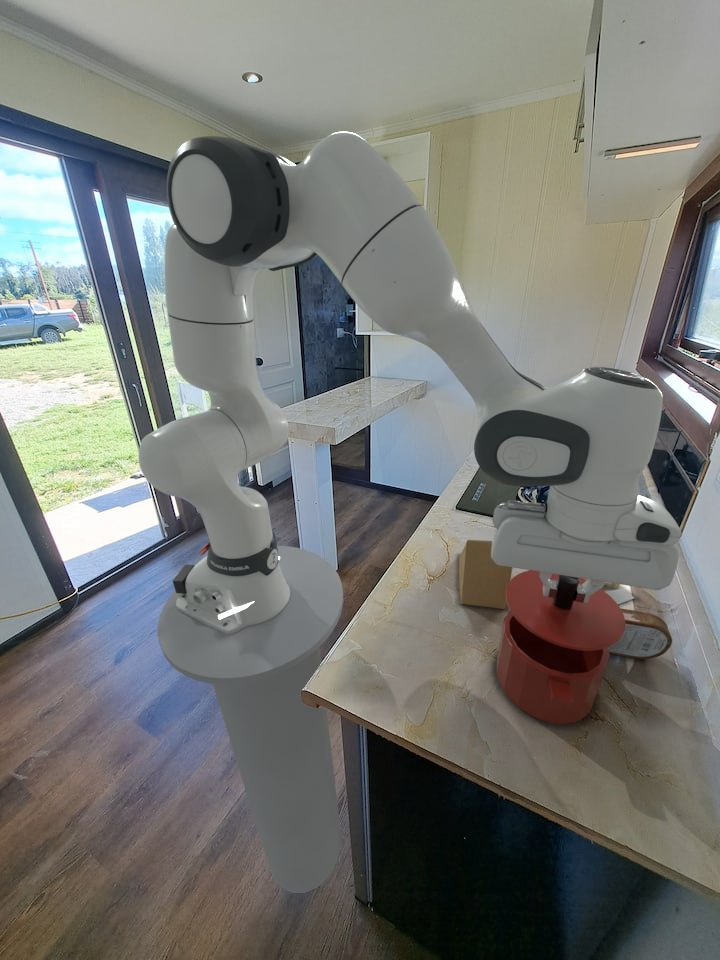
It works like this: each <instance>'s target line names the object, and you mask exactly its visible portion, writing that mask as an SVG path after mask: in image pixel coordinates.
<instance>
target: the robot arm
mask: <svg viewBox="0 0 720 960" xmlns="http://www.w3.org/2000/svg"><path fill="white" fill-rule="evenodd" d="M166 175H167V176H166V199H167V205H168V209H169V213H170V216H171V219H172V222H173V224H172V225H171V226H170V227H169V229H168V231H167V233H166V236H165V245H164V265H163V266H164V267H163V272H164V293H165V304H166V312H167V320H168V328H169V335H170V342H171V349H172V357H173V363H174V367H175V369H176V371H177V373H178V374H179V376H180V377H181V378H182V379H183V380H184V381H185V382H187V383H188V384H189V385H191V386H193V387H195V388H196V389H200V390H202V391H205V392H207V393H208V397H209V400H210V406H209V409H208V410H205V411H201V412H198V413H195V414H191V415H188V416H185V417H182V418H178V419H175V420H171V421H169V422H167V423H165V424H164V425H161V426H160V427H158V428H157V429H155V430H154V431H152V432H150V433H148V434H146V435H145V436H144V437H143V438H142V439H141V442H140V444H139V449H138V464H139V468H140V471H141V473H142V475H143V476H144V478H145V479H146V481H147V482H148V483H149V484H150V485H151V486H152V487H153V488H154V489H156V490H157V491H159V492H161V493H163V494H165V495H167V496H170V497H174V498H175V497H176V498H179V499H182V500H184V501H186V502H188V503H189V504H191V505H192V506H193V507H194V508H195V509H196V510H197V512H198V513H199V516H200V518H201V519H202V521H203V524H204V527H205V531H206V533H207V537H208V541H207V542H206V544H205V545H204V546H203V547H202V548H201V549H200V550H199V552H201V553H200V556H201V557H203V555H204V554H206V553H207V555H205V556H204V557H203V558H201V560H199V561H198V562H197V563H196V564H183V567H182V568H181V569H180V570H179V572H178V573H177V575H176V576H175V577H174V578H173V580H172V584H173V587H174V591H176V593H180V595H179V597H178V599H177V601H176V609H177V610H179V611H180V612H182V613H184V614H186V615H188V616H190V617H192V618H194V619H196V620H198V621H200V622H202V623H204V624H206V625H208V626H210V627H212V628H214V629H216V630H218V631H220V632H222V633H224V634H226V635H230V634H233V633H236V632H238V631H239V630H241V629H243V628H245V627H248V626H252V625H256V624H259V623H262V622H265V621H267V620H269V619H271V618H273V617H274V616H276V615H277V614H278V613H279V612H281V611H282V610H283V609H284V607H285V606H286V605H287V603H288V601H289V598H290V587H289V585H288V584H287V582H286V580H285V578H284V576H283V573H282V571H281V568H280V565H279V562H278V560H280V556H278V548H277V546H278V543H277V538H276V534H275V532H274V531H273V528H272V522H271V516H270V510H269V509H270V508H269V504H268V500H267V499H266V498H265V497H264V495H263V494H262V493H261V492H259V491H258V490H257V489H254V488H252V487H247V486H241V485H240V483H239V479H238V477H239V474H240V473H241V472H242V471H244V470H246V469H249V468H251V467H253V466H255V465H257V464H259V463H262V462H263V461H266V460H267V459H269V458H271V456H273V455H274V454H275V453H277V452H278V451H279V450H281V448H283V447H284V446H285V445H286V443H287V442H288V439H289V435H290V425H289V421H288V418H287V416H286V414H285V411H284V410H283V409H282V408H281V407H280V406H279V405H278V403H276V402H275V401H273V400H272V399H270V398H269V397H268V395H267V394H266V392H265V390H264V389H263V387H262V384H261V381H260V377H259V373H258V368H257V356H256V353H257V352H256V341H255V337H256V335H255V312H254V311H255V310H254V286H255V282H256V279H257V277H258V276H259V275H260V273H262V271H264V270H267V269H268V270H269V271H271V272H277V271H279V270H284V269H288V268H293V267H298V266H302V265H304V264H307V263H309V262H311V261H312V260H314V259H316V258H317V257H319V258H320V259H321V260H322V261H323V262H324V263H325V264H326V266H327V267H328V268H329V269H330V271H331V272H332V273H333V275H334V276H335V278H336V279H337V280H338V282H339V283H340V284H341V286H342V287H343V288H344V290H345V292H346V293H347V294H348V295H349V296H350V298H351V299H352V301H353V302H354V303H355V304H356V305H357V306H358V307H359V308H360V309H361V311H362V312H364V313H365V314H366V316H368V317H369V318H370V319H371V320H372V321H373V322H374V323H375V324H377V326H379V327H380V328H381V329H382V330H384V331H385V332H387V333H390V334H393V335H395V336H396V335H397V336H399V337H400V336H401V337H404V338H407V339H411V340H413V341H416V342H418V343H421V344H422V345H424V346H426V347H428V348H429V349H430V350H432V351H433V352H435V353H436V355H437V356H439V357H440V358H441V360H442V361H443V362H444V363H445V365H446V366H447V367H448V369H449V370H450V371H451V372H452V373H453V375H454V376H455V378H456V379H457V380H458V381H459V383H460V384H461V385H462V386H463V388H464V389H465V390H466V391H467V393H468V394H469V395H470V397H471V398H472V400H473V402H474V404H475V408H476V412H477V418H478V424H477V428H476V432H475V439H474V442H473V443H474V444H473V452H474V457H475V460H476V464H477V465H478V466H479V468H480V470H481V471H482V472H483V473H484V474H485V475H486V476H487V477H489V478H490V479H491V480H493V481H495V482H497V483H499V484H502V485H505V486H510V487H549V489H548V494H547V498H546V503H543V502H535V501H534V502H532V501H531V502H530V501H527V502H526V501H519V500H513V499H509V500H507V502H502V503H500V504H498V505H497V506H496V507H495V508H494V510H493V516H492V524H493V527H494V532H493V534H492V535H493V536H492V540H491V541H492V545H491V558H492V559H493V561H494V562H495V563H496V564H497V565H500V566H507V567H513V568H514V569H520V570H525V571H529V570H532V571H539V577H540V579H541V581H542V582H543V596H546V597H551V598H556V594H557V591H558V588H557V586H556V585H557V583H556V581H554V580H550V579H549V578H551V576H552V574H558V575H564V576H570V577H577V578H583V579H588V580H587V581H586V582H585V583H583V584H582V585H579V584H578V587H577V591H576V595H575V598H574V601H575V602H580V603H586V604H587V603H588V600H589V597H590V595H592V594H593V593H595V592H596V591H598V590H599V589H601V588H602V587H603V586H604V583H605V582H609V583H615V584H620V586H621V585H622V586H628V587H636V588H642V589H648V590H653V591H661V590H663V589H666V588H667V587H669V586H670V585H671V584H672V582H673V580H674V577H675V574H676V571H677V567H678V563H679V562H678V561H679V556H680V555H679V550H678V548H677V546H676V544H677V543H679V541H680V539H681V537H682V531H681V528H680V526H679V524H678V523H677V522H676V520H675V518H674V516H672V515H671V513H670V512H669V511H668V510H667V509H666V508H665V507H664V505H662V504H661V503H660V502H658V501H656V500H653V499H650V498H647V497H645V496H642V495H640V478H641V475H642V473H643V471H644V469H646V467H647V466H648V464H649V463H650V461H651V458H652V455H653V451H654V447H655V444H656V440H657V436H658V433H659V428H660V424H661V418H662V413H663V402H664V401H663V392H662V391H661V390H660V388H659V387H658V386H657V385H656V384H655V383H653V381H651V380H650V379H648V378H646V377H644V376H642V375H640V374H636V373H632V371H627V370H623V369H618V368H611V367H604V366H602V367H601V366H599V367H598V366H593V367H586V368H584V369H582V370H581V371H580V372H579V373H577V374H576V375H574V376H572V377H570V378H569V379H567V380H564V381H562V382H560V383H558V384H556V385H553V386H551V387H549V388H546V387H545V386H544V385H542V384H541V383H539V382H537V381H536V380H534V379H533V378H530V377H528V376H526V375H525V374H522V373H521V372H519V371H518V370H517V369H516V368H515V367H514V366H512V364H511V363H510V362H509V360H508V358H507V357H506V356H505V355H504V353H503V352H502V350H501V349H500V348H499V346H498V345H497V344H496V343H495V341H494V340H493V338H492V337H491V336H490V334H489V333H488V332H487V329H485V327H484V326H483V324H482V323H481V321H480V320H479V319H478V316H477V315H476V313H475V311H474V308H473V307H472V305H471V303H470V300H469V298H468V295H467V292H466V289H465V287H464V285H463V282H462V280H461V277H460V275H459V272H458V269H457V266H456V265H455V262H454V260H453V258H452V255H451V253H450V250H449V249H448V246H447V244H446V242H445V240H444V238H443V237H442V235H441V233H440V231H439V229H438V227H437V226H436V224H435V223H434V221H433V220H432V218H431V216H430V215H429V213H428V212H427V210H426V209H425V208H424V206H423V204H422V203H421V202H420V200H419V198H418V197H417V196H416V194H415V192H413V191H412V189H411V188H410V186H408V184H407V183H406V182H405V181H404V179H403V178H402V177H401V176H400V175H399V173H398V172H396V170H395V169H394V168H393V166H392V165H390V163H389V162H388V161H387V160H386V159H385V158H384V157H383V155H381V154H380V153H379V152H378V151H377V150H376V149H375V148H374V147H373V146H372V145H370V143H368V141H366V139H364V138H363V137H361V136H360V135H358V134H356V133H353V132H349V131H338V132H333V133H332V134H329V135H327V136H325V137H324V138H323V139H321V140H320V141H319V142H317V143H316V144H315V145H314V146H313V147H312V148H311V149H310V150H309V152H308V153H307V154H306V156H305V157H304V159H303V160H302V161H301V162H299V163H298V164H295V163H293V162H292V161H290V160H289V159H287V158H286V157H285V156H282V155H280V154H278V153H276V152H274V151H272V150H269V149H264V148H259V147H255V146H253V145H250V144H248V143H245V142H243V141H242V140H241V141H240V140H239V139H236V138H232V137H227V136H217V135H206V136H198V137H194V138H191V139H189V140H186V141H185V142H184V143H182V144H181V145H180V146H179V147H178V148H177V150H176V151H175V153H174V154H173V156H172V158H171V159H170V163H169V166H168V170H167V174H166ZM513 568H512V569H513Z"/></svg>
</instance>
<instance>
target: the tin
mask: <svg viewBox="0 0 720 960" xmlns="http://www.w3.org/2000/svg"><path fill="white" fill-rule="evenodd" d="M620 608H621V610H622V612H623V614H624V618H625V624H626V626H625V631H624V633H623V636H622V637H621V639H620V640H619V641H618V642H617V643H616V644H614V645H612V646H610V647H608V650H609V654H610V655H616V656H621V657H626V658H632V659H637V660H651V659H655V658H658V657H660V656H663V655H664V654H666V653H667V652H668V651H669V649H670V648H671V647H672V644H673V637H672V635H671V632H670V631H669V627H668V624H667V623H666V622H665V620H664V619H663V618H661V617H659V616H658V615H656V614H653V613H650V612H646V611H641V610H636V609H635V610H634V609H628V608H623V607H620Z"/></svg>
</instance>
